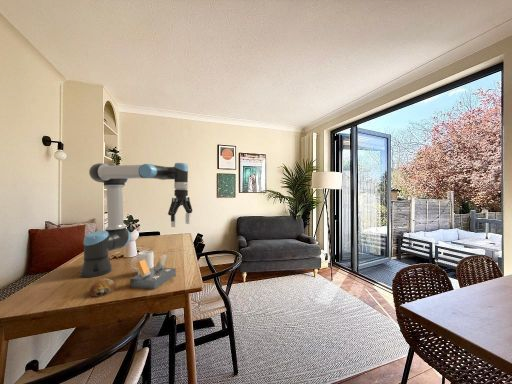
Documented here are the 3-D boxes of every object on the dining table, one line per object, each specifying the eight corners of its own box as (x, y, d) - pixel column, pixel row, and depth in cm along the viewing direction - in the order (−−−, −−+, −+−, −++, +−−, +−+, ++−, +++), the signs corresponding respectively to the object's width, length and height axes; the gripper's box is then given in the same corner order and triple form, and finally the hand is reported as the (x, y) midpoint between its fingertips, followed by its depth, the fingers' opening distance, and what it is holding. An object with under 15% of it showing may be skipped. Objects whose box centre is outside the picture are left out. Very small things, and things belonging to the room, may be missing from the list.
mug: (131, 277, 123) (131, 256, 123) (130, 272, 130) (130, 252, 130) (155, 273, 130) (154, 252, 129) (152, 269, 137) (152, 249, 137)
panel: (130, 286, 112) (130, 262, 112) (154, 273, 130) (153, 252, 129) (154, 289, 109) (154, 264, 109) (175, 275, 126) (175, 254, 126)
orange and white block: (141, 278, 112) (135, 263, 113) (148, 274, 117) (142, 260, 118) (144, 277, 112) (138, 261, 113) (151, 273, 117) (145, 258, 117)
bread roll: (117, 296, 109) (121, 279, 113) (105, 296, 100) (110, 277, 103) (96, 296, 109) (101, 279, 112) (82, 296, 100) (88, 277, 103)
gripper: (172, 189, 119) (172, 229, 119) (198, 189, 143) (198, 222, 143) (161, 189, 121) (161, 228, 122) (188, 189, 145) (187, 222, 145)
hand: (181, 225), depth 132 cm, fingers open, 13 cm apart
